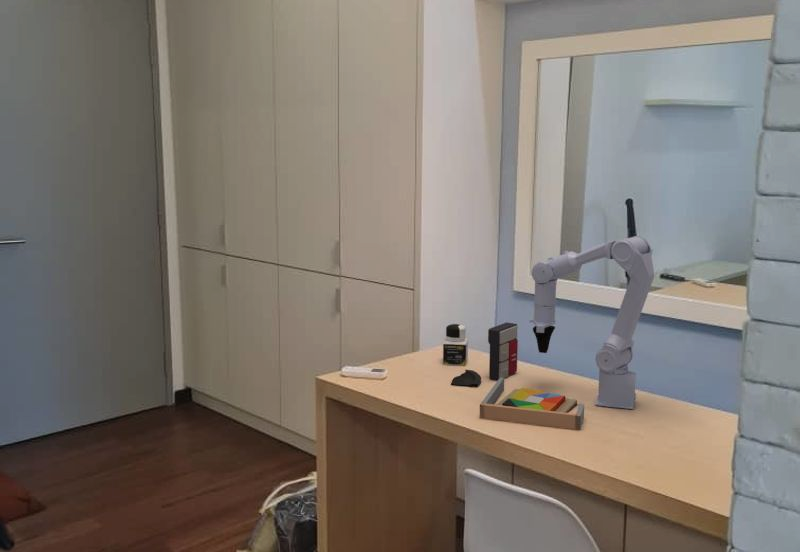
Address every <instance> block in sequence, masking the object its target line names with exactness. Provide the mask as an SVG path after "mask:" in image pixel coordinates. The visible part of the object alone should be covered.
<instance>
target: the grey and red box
mask: <svg viewBox="0 0 800 552" xmlns="http://www.w3.org/2000/svg"><path fill="white" fill-rule="evenodd" d="M518 341H519V340H518V324H517V323H513V322H504V323H501V324H498V325H495V326H493V327H490V328H488V330H487V343H488V344H489V368H488V369H489V376H488V378H489V380H493V381H496V382H497V381H498V380H499V378H504V379H505V378H507V377H509V376H511V375H514V374H515V373H517V371H518V349H519V347H518V346H519V345H518V344H519V342H518Z"/></svg>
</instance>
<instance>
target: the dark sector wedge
mask: <svg viewBox="0 0 800 552" xmlns="http://www.w3.org/2000/svg"><path fill="white" fill-rule="evenodd" d="M464 371H465V372H463V373H461V374H459V375H457V376H455V377H453V378H452V380H451V382H450V386H453V387H464V388H465V387H467V388H475V389H476V388H479V387H480V385H481V381H482V376H481V375H480V374H479V373H478V372H476V371H475V370H471V369H464Z"/></svg>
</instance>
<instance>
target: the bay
mask: <svg viewBox="0 0 800 552" xmlns="http://www.w3.org/2000/svg"><path fill="white" fill-rule="evenodd" d="M504 390H505V378H499V380H498V381H496V382H495V384H494V385H493V386H492V388H491V389H490V390H489V392H488V393H487V394H486V395H485V397H484V398H483V400H482V401H481V402H480V404H479V419H484V420H491V421H500V422H509V423H510V422H511V423H517V424H518V423H519V424H526V425H534V426H542V427H551V428H558V429H559V428H560V429H566V430H567V429H568V430H575V431H581V428H582V425H583V423H584V418H585V404H584V403H583V404H582V403H578V407H577V410H576V412H575V413H572V412H567V413H564V412H555V411H546V410H537V409H529V408H520V407H511V406H502V405H496V402H497V401H498V399H499V398H500V397H501V395H502V394H503V393H504V392H505V391H504Z"/></svg>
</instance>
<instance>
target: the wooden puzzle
mask: <svg viewBox="0 0 800 552" xmlns="http://www.w3.org/2000/svg"><path fill="white" fill-rule="evenodd" d="M577 404H578V400H577V399H576V398H575V399H574V398H569V397H566V395H563V394H558V393H553V392H547V391H542V390H538V389H531V388H527V387H520V388H514V389H513V390H512V391H511V392H509V393H508V394H507V395H506V396H505V397H504V398H502V399H500V401H499V402H498V403H495V405H502V406H511V407H520V408H529V409H537V410H546V411H555V412H564V413H569V411H570V410H571V408H573V407H574V406H575V405H577Z"/></svg>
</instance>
